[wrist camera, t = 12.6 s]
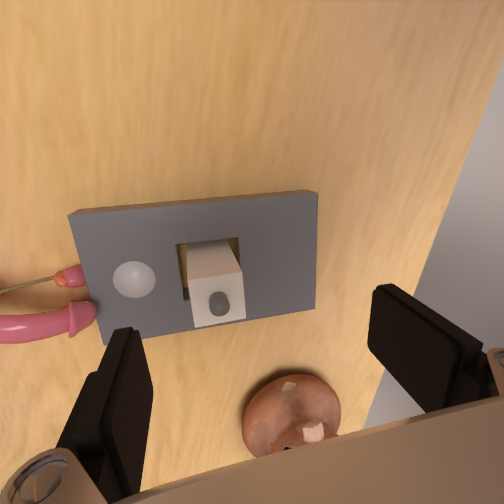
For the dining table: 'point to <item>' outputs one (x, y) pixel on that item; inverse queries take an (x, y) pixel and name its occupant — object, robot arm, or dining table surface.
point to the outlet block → (186, 231)
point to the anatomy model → (49, 314)
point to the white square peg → (214, 283)
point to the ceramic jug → (290, 414)
